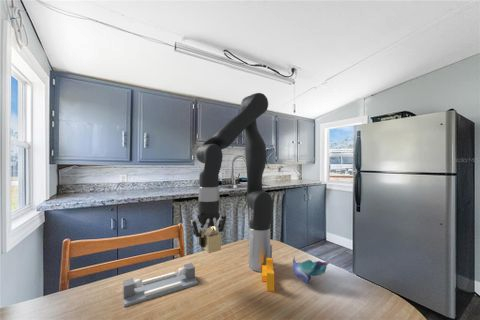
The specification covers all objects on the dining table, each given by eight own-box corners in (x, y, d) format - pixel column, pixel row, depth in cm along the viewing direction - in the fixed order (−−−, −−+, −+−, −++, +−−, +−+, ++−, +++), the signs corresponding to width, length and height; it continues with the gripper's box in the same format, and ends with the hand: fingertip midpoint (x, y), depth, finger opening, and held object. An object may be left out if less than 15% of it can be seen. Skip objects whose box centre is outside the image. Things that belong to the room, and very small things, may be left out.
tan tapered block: (197, 243, 79) (197, 228, 79) (208, 240, 82) (208, 226, 82) (209, 253, 71) (209, 236, 71) (221, 249, 73) (221, 234, 73)
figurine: (332, 284, 78) (332, 260, 78) (315, 297, 71) (315, 270, 71) (302, 270, 88) (302, 249, 88) (284, 280, 81) (284, 256, 81)
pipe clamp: (262, 272, 86) (262, 257, 86) (272, 273, 86) (272, 257, 86) (261, 290, 74) (261, 272, 74) (274, 291, 74) (274, 273, 74)
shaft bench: (189, 271, 86) (189, 259, 86) (197, 284, 78) (197, 270, 78) (122, 290, 74) (123, 276, 74) (124, 307, 65) (124, 291, 65)
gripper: (221, 195, 83) (220, 238, 83) (186, 199, 75) (186, 246, 75) (230, 198, 77) (230, 244, 77) (194, 202, 69) (194, 254, 69)
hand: (208, 245), depth 76 cm, fingers closed on tan tapered block, 4 cm apart
